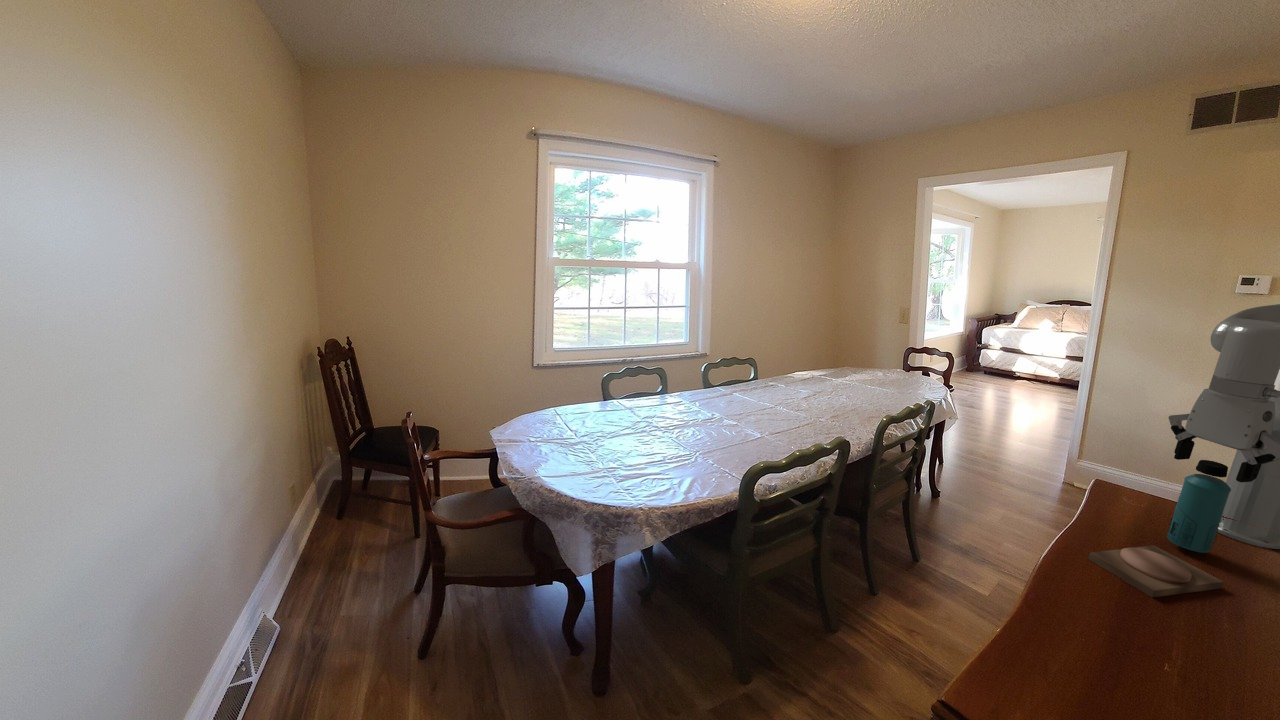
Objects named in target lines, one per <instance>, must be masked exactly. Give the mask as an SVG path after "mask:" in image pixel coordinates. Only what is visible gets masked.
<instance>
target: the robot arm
mask: <svg viewBox="0 0 1280 720" xmlns="http://www.w3.org/2000/svg"><path fill="white" fill-rule="evenodd" d="M1210 344H1211V346H1212V347H1213V348H1214V350H1215V351H1217V352H1219V356H1218V359H1217V362H1216V364H1215V367H1214V371H1213V374H1212V377H1211V379H1210V380H1211V381H1210V383H1209V386H1208V388H1204V389H1203V390H1202V391H1201V393H1200V395H1199V396H1198V397H1197V398H1196V401H1195V402H1194V405H1193V406H1192V408H1191V411H1190V412H1189V413H1183V414H1173V415H1169V416H1168V421H1169V424H1170V430H1171V431H1172V433H1173V434H1174V435H1175V437H1174V439H1175V440H1176V441H1177V442H1176V445H1175V447H1174V448H1175V449H1174V452H1173V453H1174V456H1173V459H1174V460H1177V461H1178V460H1179V461H1180V460H1190V458H1191V455H1192V453H1193V450H1194V447H1195V441H1194V439H1196V438H1198V439H1201V440H1204V441H1208V442H1210V443H1214V444H1218V445H1220V446H1223V447H1227V448H1231V449H1233V450H1236V452H1235V454H1234V458H1233V460H1232V463H1231V466H1230V469H1229V472H1228V473H1227V477H1226V481H1225V483H1226V484H1227V485H1228V486H1229V487H1230V488H1231V491H1230V493H1229V496H1228V499H1227V502H1226V505H1225V508H1224V511H1223V514H1222V516H1224V517H1227V518H1231V519H1234V520H1237V521H1234V520H1231V519H1226V518H1223V517H1222V518H1221V521H1220V522H1221V523H1220V524H1219V525H1220V526H1219V527H1218V528H1219V529H1218V532H1217V533H1219V534H1221V535H1223V536H1226V537H1227V538H1230V539H1233V540H1236V541H1239V542H1241V543H1243V544H1244V543H1245V544H1248V545H1251V546H1257V547H1260V548H1265V549H1270V550H1271V549H1272V550H1280V390H1278V389H1276V385H1275V383H1276V380H1277V377H1278V376H1279V372H1280V303H1277V304H1270V305H1269V304H1267V305H1261V306H1255V307H1251V308H1247V309H1243V310H1240V311H1238V312H1236V313H1233V314H1231V315H1230V316H1228V317H1226V318H1225V319H1223V320H1222V321H1220V322H1219V323H1218V324H1217V325H1216V326H1215V327H1214V329H1213V330H1212V333H1211V334H1210ZM1183 421H1186V423H1185V427H1184V426H1183V425H1182V422H1183ZM1223 519H1224V520H1223ZM1239 521H1241V522H1239ZM1242 522H1245V523H1242ZM1247 523H1249V524H1247ZM1250 524H1252V525H1250ZM1253 525H1256V526H1260V527H1256V526H1253ZM1261 527H1263V528H1261ZM1264 528H1266V529H1264ZM1267 529H1269V530H1267ZM1270 530H1271V531H1270ZM1272 530H1273V531H1272ZM1276 531H1277V532H1276Z"/></svg>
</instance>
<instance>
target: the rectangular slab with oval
mask: <svg viewBox="0 0 1280 720" xmlns="http://www.w3.org/2000/svg"><path fill="white" fill-rule="evenodd" d="M1087 560H1089V561H1091V562H1092V563H1094V564H1095V565H1097V566H1099V567H1101V568H1103V570H1106V571H1107V572H1108V573H1111V574H1112V575H1114V576H1115V575H1116V576H1115V577H1117V578H1119V579H1120V578H1121V580H1122V581H1123V582H1125V583H1127V584H1129V585H1131V586H1132V587H1133V588H1135V589H1137V590H1138V591H1140V592H1142V593H1144V594H1145V595H1146V596H1148V597H1150V598H1158V597H1159V598H1160V597H1165V596H1166V597H1167V596H1174V595H1181V594H1189V593H1196V592H1205V591H1210V590H1220V589H1222V586H1223V584H1224V580H1221V579H1219V578H1218V577H1216V576H1214V575H1212V574H1210V573H1208V572H1206V571H1204V570H1203V569H1200V568H1198V567H1196V566H1194V565H1192V564H1190V563H1188V562H1187V561H1185V560H1183V559H1181V558H1179V557H1177V556H1175V555H1174V554H1171V553H1169V552H1168V551H1165V550H1164V549H1161V547H1160V548H1159V547H1157V546H1156V545H1154V544H1153V545H1147V546H1146V545H1145V546H1144V545H1143V546H1137V547H1136V546H1135V547H1125V548H1120V549H1109V550H1101V551H1099V550H1098V551H1092V552H1091V551H1090V552H1089V554H1088V558H1087Z"/></svg>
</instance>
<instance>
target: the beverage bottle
mask: <svg viewBox="0 0 1280 720" xmlns="http://www.w3.org/2000/svg"><path fill="white" fill-rule="evenodd" d="M1228 470H1229V467H1228V466H1227V465H1226V464H1223V463H1222V462H1217V461H1214V460H1208V459H1200V460H1199V461H1198V463H1197V465H1196V466H1195V471H1196V472H1199V473H1194V474H1190V475H1186V476H1185V477H1184V481H1183V484H1182V488H1181V491H1180V493H1179V495H1178V498H1177V501H1176V506H1175V508H1174V511H1173V512H1172V517H1171V518H1170V521H1169V525H1168V528H1167V533H1166V536H1167V540H1168V541H1169V542H1171V543H1172V544H1173V545H1176V546H1178V547H1181V548H1183V549H1185V550H1189V551H1193V552H1196V553H1203V554H1204V553H1209V552H1210V551H1211V550H1212V549H1213V546H1214V545H1215V542H1216V539H1217V538H1218V537H1217V536H1218V529H1219V528H1218V527H1219V526H1220V525H1219V524H1220V523H1221V522H1220V521H1221V518H1222V514H1223V511H1224V508H1225V505H1226V502H1227V499H1228V496H1229V493H1230V491H1231V488H1230V487H1229V486H1228V485H1227V484H1226V481H1224V480H1223V479H1221V478H1227V477H1228Z"/></svg>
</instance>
